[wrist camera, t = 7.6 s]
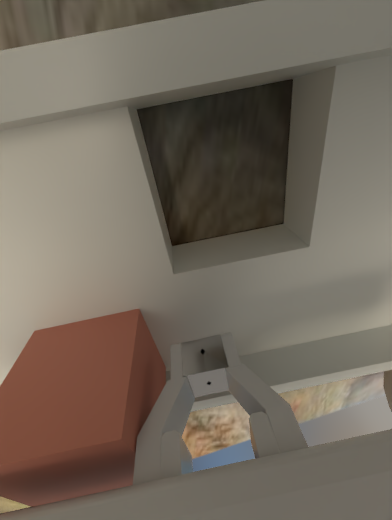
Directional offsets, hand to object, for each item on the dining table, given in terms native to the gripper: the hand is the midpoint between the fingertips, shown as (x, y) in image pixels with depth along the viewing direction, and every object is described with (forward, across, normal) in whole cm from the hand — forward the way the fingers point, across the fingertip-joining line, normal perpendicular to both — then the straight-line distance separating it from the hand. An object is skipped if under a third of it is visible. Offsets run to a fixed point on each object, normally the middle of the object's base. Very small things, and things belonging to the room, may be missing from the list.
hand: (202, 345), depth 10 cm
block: (+1, +5, 0) cm, 5 cm away
